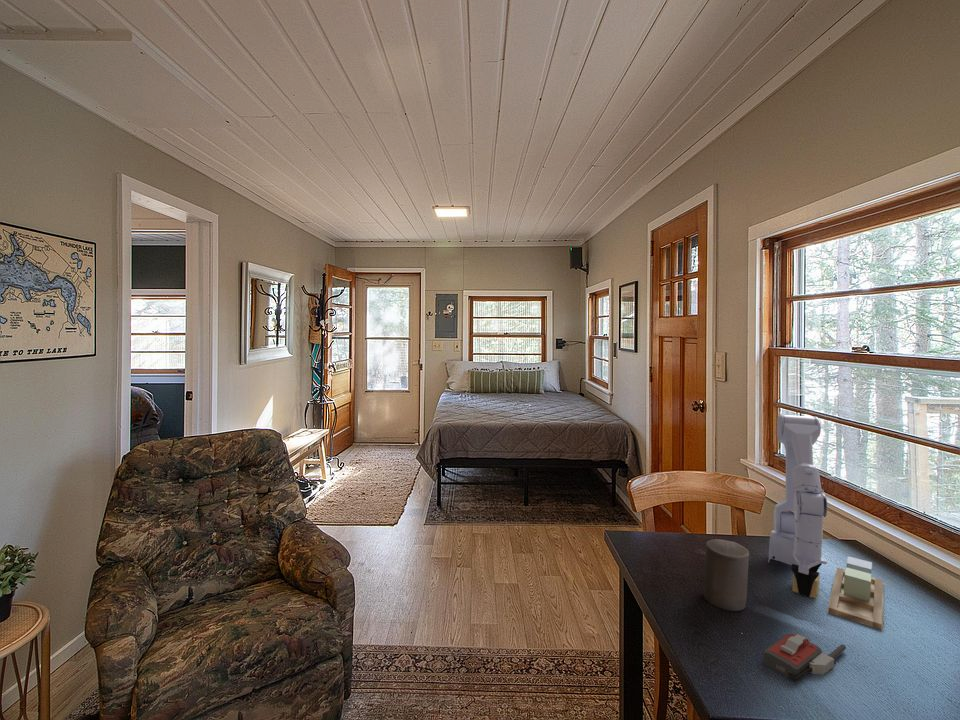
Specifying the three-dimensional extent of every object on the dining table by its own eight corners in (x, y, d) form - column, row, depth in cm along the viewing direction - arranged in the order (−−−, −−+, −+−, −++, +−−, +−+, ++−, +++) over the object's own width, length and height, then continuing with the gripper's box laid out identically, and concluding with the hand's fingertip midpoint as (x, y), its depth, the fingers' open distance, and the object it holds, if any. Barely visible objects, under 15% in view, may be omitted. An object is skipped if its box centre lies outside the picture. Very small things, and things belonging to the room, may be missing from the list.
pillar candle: (698, 600, 116) (700, 542, 115) (710, 584, 123) (712, 530, 122) (740, 616, 109) (744, 556, 108) (751, 599, 116) (754, 542, 115)
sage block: (843, 597, 115) (844, 574, 115) (844, 589, 119) (845, 567, 118) (869, 605, 112) (870, 581, 111) (870, 597, 115) (871, 573, 115)
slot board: (826, 617, 109) (827, 607, 109) (835, 576, 128) (836, 567, 128) (882, 636, 102) (883, 624, 102) (883, 590, 121) (883, 580, 121)
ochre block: (792, 596, 118) (793, 574, 118) (795, 589, 122) (796, 567, 121) (816, 604, 115) (817, 581, 114) (818, 596, 118) (819, 573, 118)
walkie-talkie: (806, 694, 86) (850, 655, 97) (807, 671, 86) (851, 635, 97) (757, 665, 93) (803, 632, 104) (758, 644, 93) (803, 613, 104)
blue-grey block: (845, 585, 121) (846, 562, 121) (846, 577, 125) (847, 556, 124) (870, 592, 118) (871, 569, 117) (870, 584, 121) (872, 562, 121)
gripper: (824, 553, 109) (822, 608, 110) (830, 534, 120) (827, 584, 121) (789, 544, 114) (787, 597, 115) (797, 526, 125) (795, 575, 125)
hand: (805, 590), depth 118 cm, fingers open, 5 cm apart
